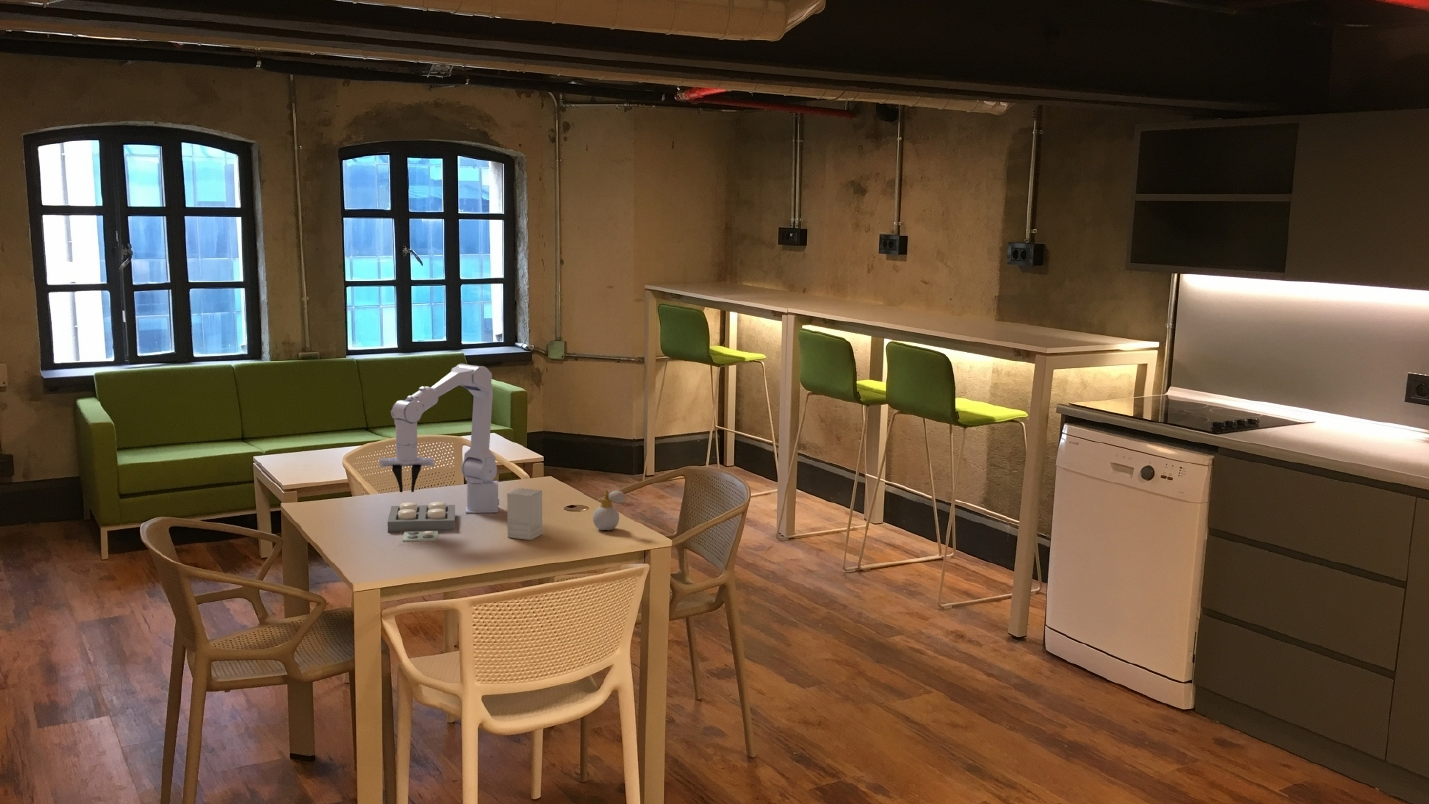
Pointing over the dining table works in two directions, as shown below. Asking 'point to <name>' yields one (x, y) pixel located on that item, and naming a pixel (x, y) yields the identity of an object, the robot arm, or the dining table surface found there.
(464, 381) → the robot arm
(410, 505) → the button
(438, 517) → the button
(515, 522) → the supplement box
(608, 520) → the perfume bottle
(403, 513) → the button
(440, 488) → the dining table surface
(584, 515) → the dining table surface
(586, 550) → the dining table surface
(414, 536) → the tile
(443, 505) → the button
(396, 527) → the button board
